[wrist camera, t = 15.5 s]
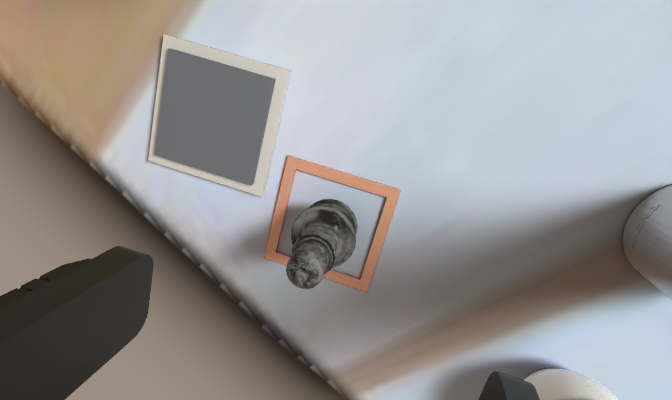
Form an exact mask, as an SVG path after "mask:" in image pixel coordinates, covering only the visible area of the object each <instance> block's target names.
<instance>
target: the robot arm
mask: <svg viewBox="0 0 672 400" xmlns="http://www.w3.org/2000/svg"><path fill="white" fill-rule="evenodd" d="M623 249H624V252H625V255H626V257H627V260H628V261H629V262H630V264H631V265H632V267H633V268H634V269H635V270H637V271H638V272H639V273H640V274H641V275H642V276H644V277H645V278H646V279H647V280H648V281H650V282H651V283H652V284H653V285H654V286H656V287H657V288H658V289H659V290H661V291H662V292H663V293H664V294H665V295H666V296H667V297H669V298H670V299H671V300H672V185H671V186H667V187H665V188H663V189H661V190H658V191H656V192H654V193H653V194H651V195H650V196H649V197H647V198H646V199H644V200H643V201H642V202H641V203H640V204H639V205H638V206H637V207H636V208H635V209H634V211H633V212H632V214H631V215H630V217H629V218H628V220H627V223H626V225H625V228H624V233H623ZM152 273H153V259H152V257H151V256H149V255H147V254H144V253H141V252H138V251H135V250H132V249H129V248H126V247H122V246H116V247H114V248H112V249H110V250H108V251H106V252H104V253H102V254H100V255H99V256H97V257H95V258H93V259H85V260H81V261H77V262H73V263H69V264H65V265H62V266H60V267H58V268H56V269H54V270H52V271H50V272H48V273H46V274H44V275H42V276H40V278H39V279H34V280H32V281H30V282H28V283H26V284H24V285H22V286H21V288H20V289H17V288H16V289H14V290H12V291H10V292H8V293H6V294H4V295H2V296H0V400H65V399H66V398H67V397H68V396H69V395H70V394H71V393H72V392H74V391H75V390H76V389H77V388H78V387H79V386H80V385H81V384H83V383H84V382H85V381H86V380H87V379H88V378H90V377H91V376H92V375H93V374H94V373H95V372H96V371H97V370H99V369H100V368H101V367H102V366H103V365H104V364H105V363H106V362H108V361H109V360H110V359H111V358H112V357H113V356H114V355H115V354H117V353H118V352H119V351H120V350H121V349H122V348H123V347H124V346H126V345H127V344H128V343H129V342H130V341H131V340H132V339H133V338H135V336H136V335H137V334H138V333H139V331H140V330H141V328H142V326H143V325H144V323H145V320H146V318H147V314H148V308H149V299H150V291H151V282H152ZM479 400H540V399H539V396H538V394H537V391H536V389H535V387H534V385H533V384H532V383H530V382H527V381H524V380H521V379H518V378H515V377H512V376H509V375H506V374H503V373H500V372H496V371H495V372H493V373H492V374H491V375H490V376H489V378H488V380H487V382H486V384H485V387H484V389H483V391H482V393H481V395H480V398H479Z"/></svg>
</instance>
